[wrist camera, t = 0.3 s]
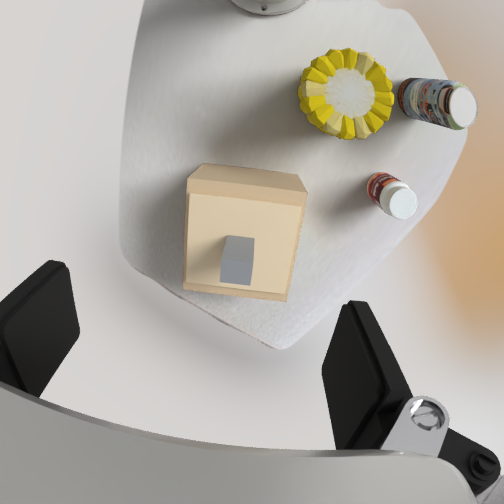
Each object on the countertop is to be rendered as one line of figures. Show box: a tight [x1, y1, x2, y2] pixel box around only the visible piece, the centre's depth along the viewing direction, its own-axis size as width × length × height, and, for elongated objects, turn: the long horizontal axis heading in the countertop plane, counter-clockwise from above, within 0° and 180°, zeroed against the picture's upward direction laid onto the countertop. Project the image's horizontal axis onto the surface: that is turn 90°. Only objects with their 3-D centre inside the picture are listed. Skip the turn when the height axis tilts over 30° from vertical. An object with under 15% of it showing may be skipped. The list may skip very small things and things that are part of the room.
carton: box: [183, 163, 308, 302], centre depth 41 cm, size 14×13×10 cm
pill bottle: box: [367, 172, 417, 219], centre depth 39 cm, size 5×5×8 cm
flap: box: [186, 192, 301, 294], centre depth 33 cm, size 11×12×6 cm
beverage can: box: [398, 78, 478, 130], centre depth 31 cm, size 6×7×12 cm
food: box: [297, 48, 394, 140], centre depth 31 cm, size 15×12×10 cm
